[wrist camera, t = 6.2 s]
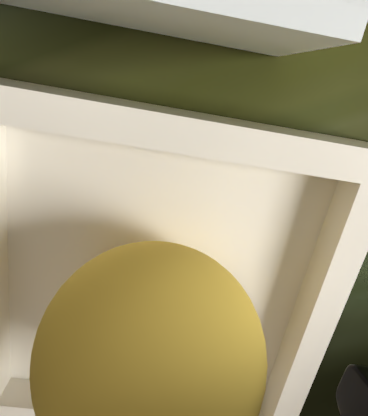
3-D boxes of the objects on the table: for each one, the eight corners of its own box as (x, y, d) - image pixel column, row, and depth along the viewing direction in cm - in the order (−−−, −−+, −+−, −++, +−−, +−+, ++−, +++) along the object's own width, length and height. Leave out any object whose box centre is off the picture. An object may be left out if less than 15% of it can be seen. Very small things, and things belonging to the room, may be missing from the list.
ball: (260, 221, 9) (351, 373, 5) (222, 360, 11) (259, 569, 6) (74, 194, 9) (-36, 333, 4) (66, 344, 11) (-18, 557, 6)
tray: (369, 142, 9) (407, 155, 8) (271, 406, 13) (284, 450, 11) (-18, 74, 8) (-61, 74, 7) (-5, 377, 12) (-31, 421, 10)
